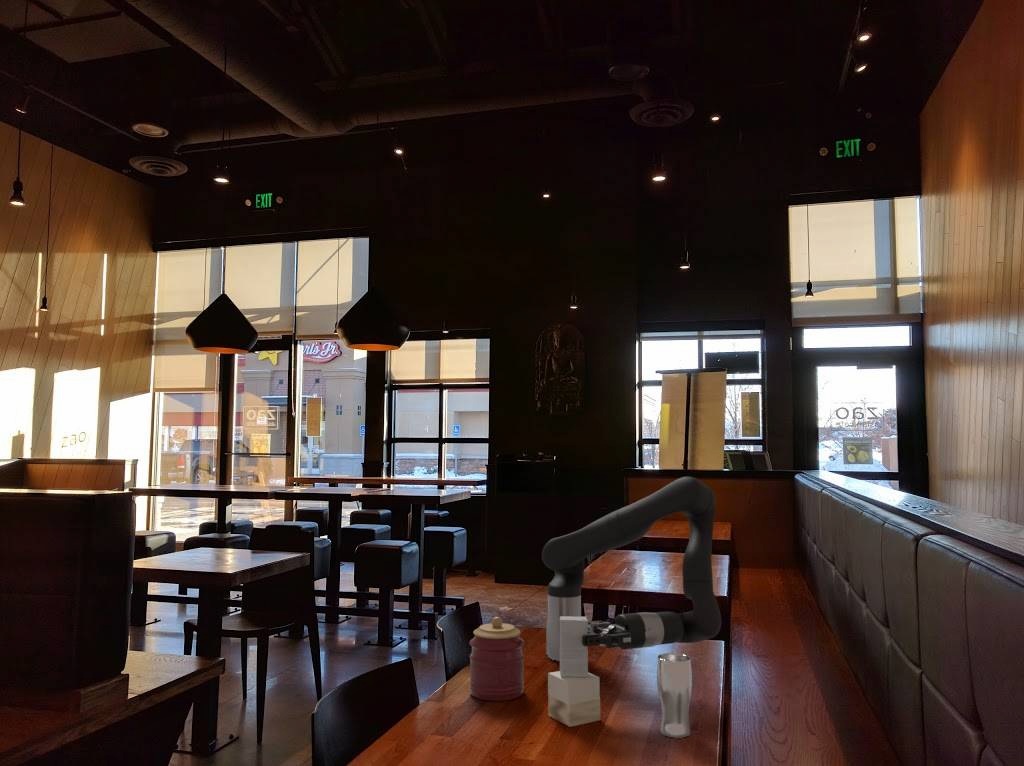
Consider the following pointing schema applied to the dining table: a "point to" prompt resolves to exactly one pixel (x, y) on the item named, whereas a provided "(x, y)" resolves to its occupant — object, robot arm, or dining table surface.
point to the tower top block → (573, 688)
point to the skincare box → (573, 647)
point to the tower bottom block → (574, 711)
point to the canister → (496, 662)
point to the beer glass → (674, 693)
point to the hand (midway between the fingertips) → (574, 636)
